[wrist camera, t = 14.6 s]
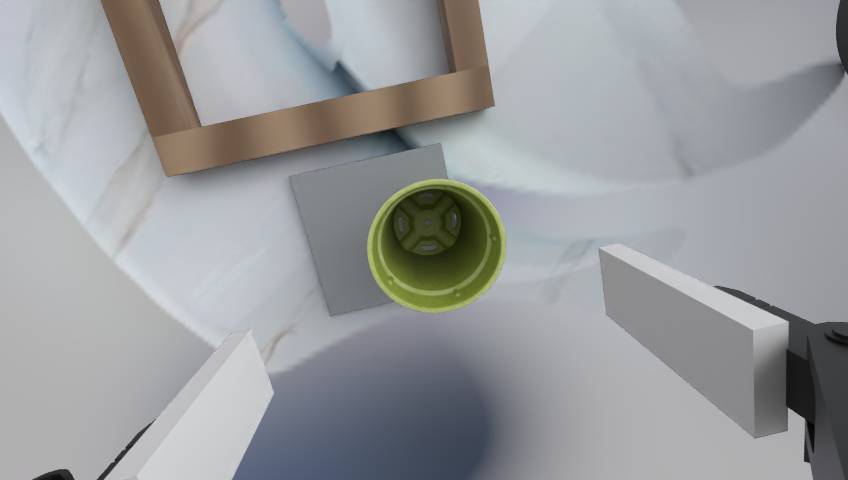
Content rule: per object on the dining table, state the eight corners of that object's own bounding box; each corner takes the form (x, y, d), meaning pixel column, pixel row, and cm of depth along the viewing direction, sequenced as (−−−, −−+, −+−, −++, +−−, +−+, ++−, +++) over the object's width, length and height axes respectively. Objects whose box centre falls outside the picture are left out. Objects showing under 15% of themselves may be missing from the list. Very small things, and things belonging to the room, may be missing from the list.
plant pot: (483, 266, 37) (509, 305, 28) (380, 278, 36) (376, 321, 28) (476, 163, 34) (503, 172, 26) (366, 175, 34) (357, 187, 26)
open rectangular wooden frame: (442, -156, 30) (448, -188, 27) (485, 108, 34) (494, 105, 31) (92, -86, 29) (58, -112, 26) (185, 174, 34) (166, 176, 31)
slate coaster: (439, 143, 35) (440, 143, 34) (466, 281, 38) (468, 284, 37) (292, 175, 34) (289, 176, 33) (332, 311, 38) (330, 316, 37)
